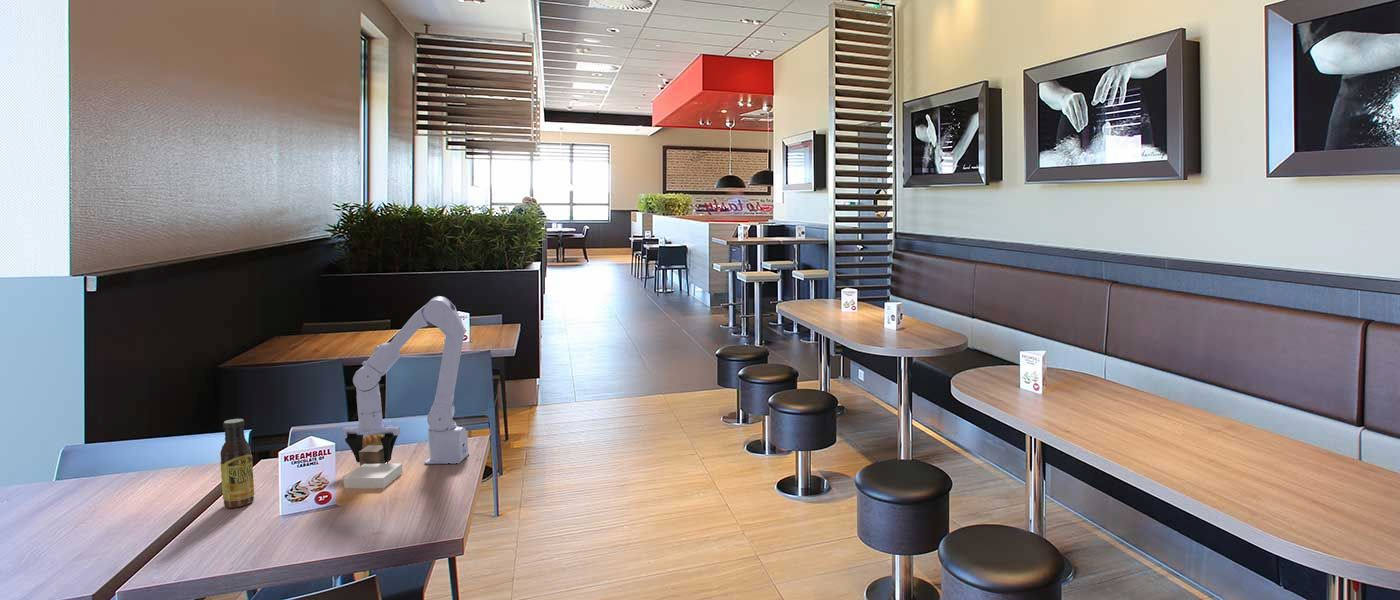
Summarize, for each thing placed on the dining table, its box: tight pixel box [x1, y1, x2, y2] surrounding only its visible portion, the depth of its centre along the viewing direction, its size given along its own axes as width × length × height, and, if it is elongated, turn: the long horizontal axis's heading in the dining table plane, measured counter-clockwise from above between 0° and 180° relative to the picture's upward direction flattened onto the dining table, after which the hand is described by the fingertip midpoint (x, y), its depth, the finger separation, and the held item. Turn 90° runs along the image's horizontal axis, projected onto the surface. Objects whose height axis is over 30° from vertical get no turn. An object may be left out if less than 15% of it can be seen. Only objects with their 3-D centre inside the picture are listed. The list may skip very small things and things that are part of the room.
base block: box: [343, 463, 404, 489], centre depth 180 cm, size 10×10×3 cm
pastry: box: [362, 435, 385, 449], centre depth 207 cm, size 9×7×4 cm
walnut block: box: [359, 445, 386, 467], centre depth 190 cm, size 5×5×5 cm
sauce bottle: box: [219, 418, 255, 509], centre depth 166 cm, size 7×6×20 cm
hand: (373, 461), depth 190 cm, fingers open, 7 cm apart
